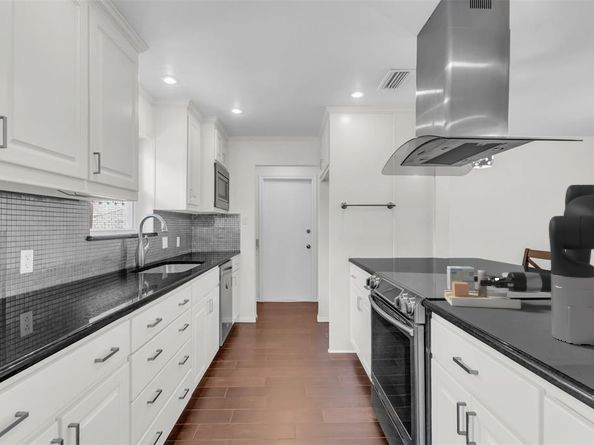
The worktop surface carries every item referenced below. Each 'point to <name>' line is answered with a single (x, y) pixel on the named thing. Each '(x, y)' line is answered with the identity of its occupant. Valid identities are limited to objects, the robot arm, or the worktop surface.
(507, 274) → the die
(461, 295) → the block
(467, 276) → the light bulb box
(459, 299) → the tray
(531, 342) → the worktop surface
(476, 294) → the plate with upright post
